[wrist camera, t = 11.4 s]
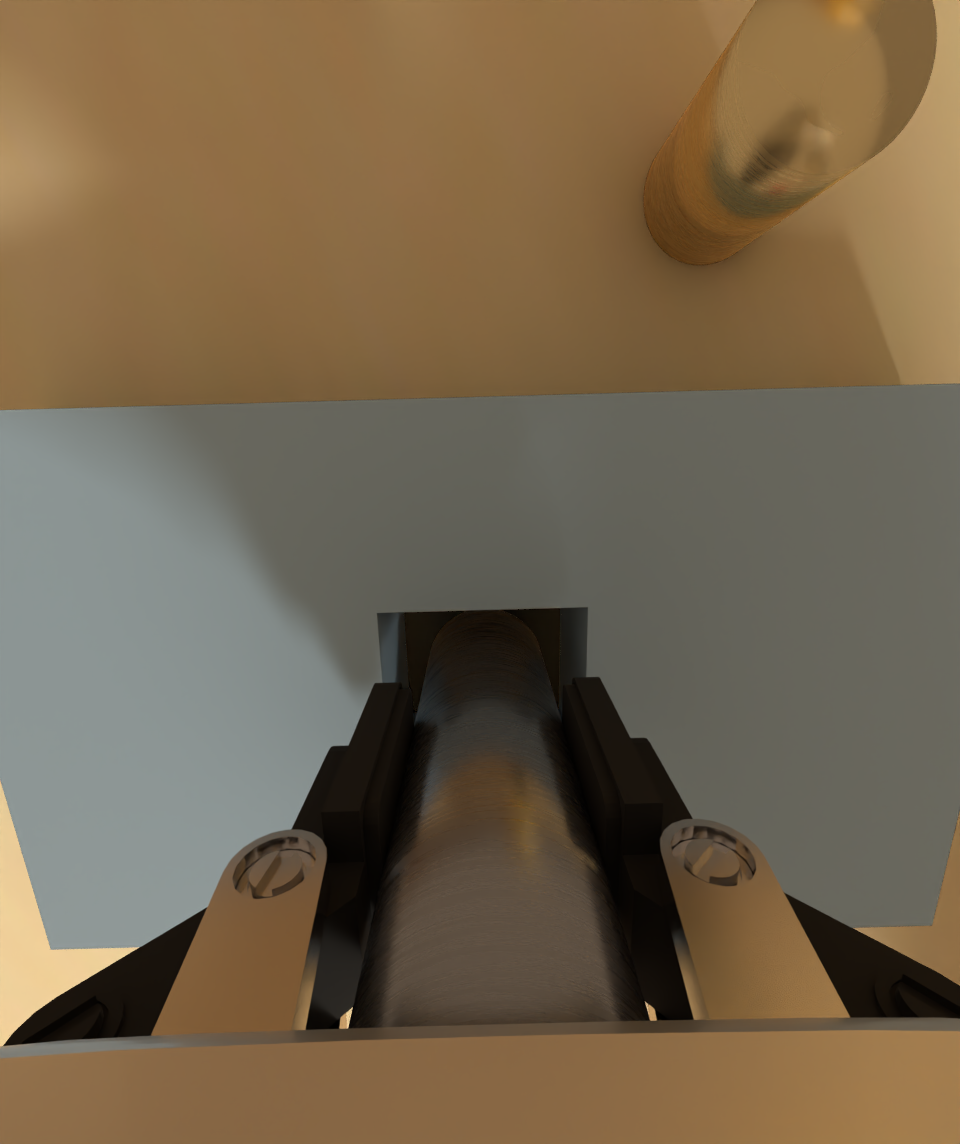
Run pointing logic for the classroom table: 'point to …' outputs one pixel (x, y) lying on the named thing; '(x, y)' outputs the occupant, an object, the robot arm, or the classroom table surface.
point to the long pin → (493, 856)
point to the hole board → (479, 582)
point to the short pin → (786, 118)
